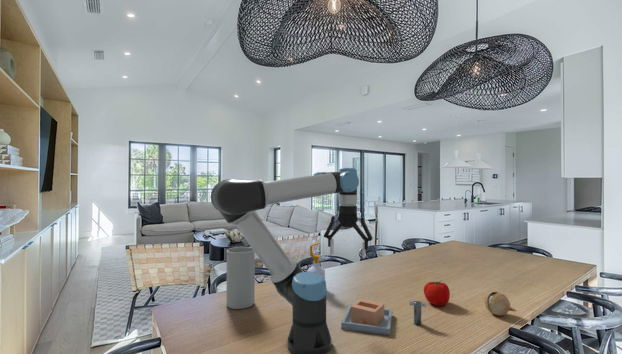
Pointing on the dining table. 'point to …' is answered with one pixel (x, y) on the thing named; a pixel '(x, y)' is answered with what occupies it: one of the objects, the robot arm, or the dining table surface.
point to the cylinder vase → (240, 277)
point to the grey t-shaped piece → (417, 311)
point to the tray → (382, 328)
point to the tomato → (437, 293)
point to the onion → (498, 304)
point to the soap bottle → (316, 264)
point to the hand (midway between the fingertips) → (347, 256)
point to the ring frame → (367, 312)
